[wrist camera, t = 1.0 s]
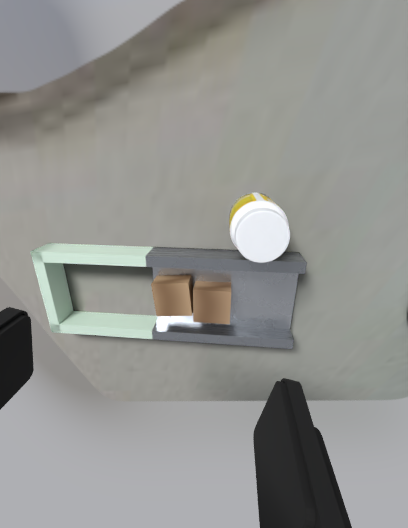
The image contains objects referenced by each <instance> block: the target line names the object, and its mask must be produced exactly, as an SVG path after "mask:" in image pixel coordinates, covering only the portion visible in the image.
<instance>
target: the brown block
mask: <svg viewBox="0 0 408 528" xmlns="http://www.w3.org/2000/svg"><path fill="white" fill-rule="evenodd" d="M230 307H231V282H210V281H195V285H194V288H193V322H202V323H217V324H230Z"/></svg>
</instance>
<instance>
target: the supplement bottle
mask: <svg viewBox="0 0 408 528" xmlns="http://www.w3.org/2000/svg"><path fill="white" fill-rule="evenodd" d="M230 236H231V239H232V242H233V243H234V245H235V246H236V248H237V249H238V250H239V252H240V253H241V254H242V255H243V256H244V257H245V258H246V259H248V260H250V261H253V262H258V263H265V262H270V261H272V260H275V259H276V258H278V257H279V256H281V255H282V254H283V253H284V251H285V250H286V248H287V246H288V244H289V241H290V230H289V224H288V219H287V217H286V215H285V213H284V211H283V210H282V209H281V208H280V207H279V206H278V205H277V204H276V203H274V202H273V201H272V200H271V199H270V198H269V197H267V196H266V195H264V194H261V193H248V194H245V195H243V196H241V197H240V198H238V199H237V200H236V201H235V203H234V204H233V206H232V208H231V211H230Z"/></svg>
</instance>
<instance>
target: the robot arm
mask: <svg viewBox="0 0 408 528" xmlns="http://www.w3.org/2000/svg"><path fill="white" fill-rule="evenodd" d="M32 373H33V352H32V334H31V319H30V317H28V314H27V312H25V311H22V310H18V309H14V308H10V307H9V308H6V309H4V310H2V311H1V312H0V409H1V408H2V407H3V406H4V405H5V404H6V403H7V402H8V401H9V400H10V399H11V398H12V397H13V395H15V394H16V393H17V392H18V390H19V389H20V388H21V387H22V386H23V385H24V384H25V383H26V382H27V381H28V380H29V379H30V377H31V375H32ZM254 453H255V466H256V478H257V493H258V507H259V521H260V528H352V527H351V524H350V520H349V517H348V514H347V512H346V508H345V505H344V502H343V499H342V496H341V493H340V490H339V487H338V484H337V481H336V478H335V474H334V472H333V468H332V465H331V462H330V459H329V456H328V453H327V450H326V447H325V444H324V441H323V438H322V435H321V433H320V431H319V430H318V429H317V428H315V427H314V425H313V422H312V419H311V416H310V412H309V409H308V406H307V402H306V399H305V396H304V393H303V389H302V386H301V384H300V383H299V382H296V381H293V380H289V379H285V378H283V379H282V380H281V382H280V381H277V382H276V383H275V385H274V388H273V390H272V392H271V394H270V396H269V398H268V401H267V403H266V405H265V407H264V409H263V412H262V414H261V416H260V418H259V420H258V422H257V425H256V427H255V430H254Z"/></svg>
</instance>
